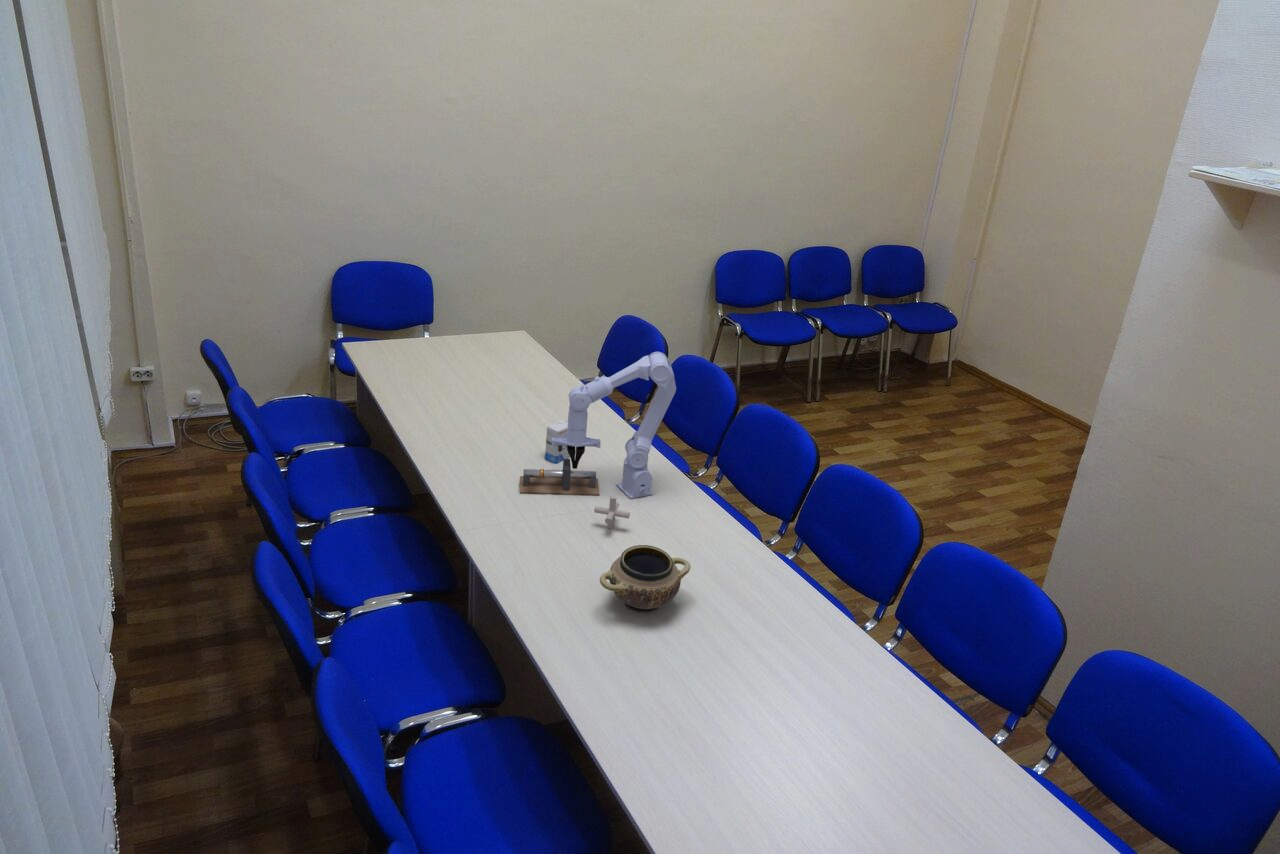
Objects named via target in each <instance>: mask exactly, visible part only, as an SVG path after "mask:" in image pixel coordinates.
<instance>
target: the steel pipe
mask: <svg viewBox="0 0 1280 854" xmlns="http://www.w3.org/2000/svg"><path fill="white" fill-rule="evenodd" d="M563 474H564V470H563V469H536V468H535V469H533V468H529V469H528V468H523V475H522V476H523V487H530V477H539V478H563ZM570 478H575V479H589V482H588V484H589V488H595V487H596V478H597V471H595V470H571V474H570Z"/></svg>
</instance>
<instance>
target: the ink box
mask: <svg viewBox="0 0 1280 854" xmlns="http://www.w3.org/2000/svg"><path fill="white" fill-rule="evenodd" d="M567 429H568V420H566V419H562V420H559V421H557V422H554V423H552V424H548V425H547V427H546V435H545V436H546V437H545V439H546V440H545V454H544V459H545V460H546V461H549V462H551V463H553V464H555V465H556V464H558V463H561V462H563V459H570V455H569V453H568V451H567V446H560V445H556V446H552V438H558V437H566V436H567Z"/></svg>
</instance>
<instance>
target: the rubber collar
mask: <svg viewBox="0 0 1280 854" xmlns="http://www.w3.org/2000/svg"><path fill="white" fill-rule="evenodd" d="M562 462H563V463H562V470H564V474H563V478H562V482H563V490H570V474H571V471H572V468H571V467H572V466H571V458H567V459H563V461H562Z"/></svg>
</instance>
